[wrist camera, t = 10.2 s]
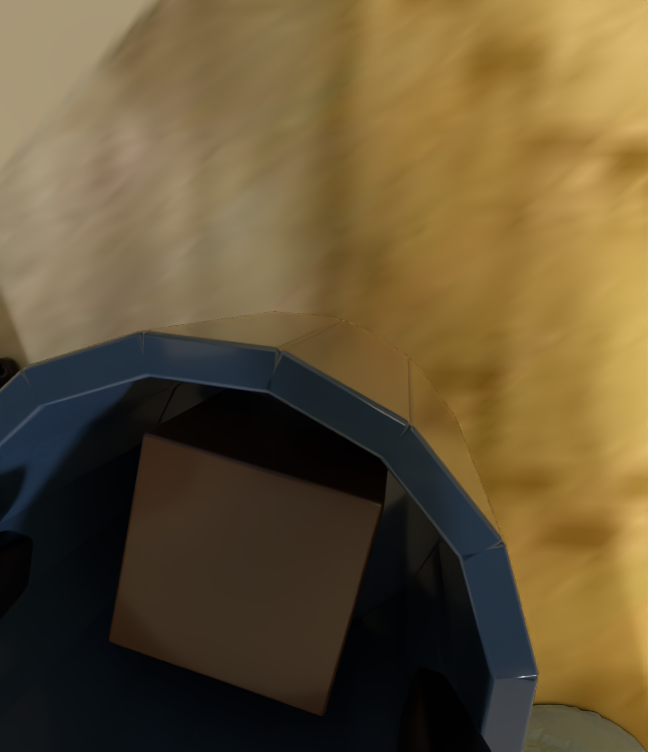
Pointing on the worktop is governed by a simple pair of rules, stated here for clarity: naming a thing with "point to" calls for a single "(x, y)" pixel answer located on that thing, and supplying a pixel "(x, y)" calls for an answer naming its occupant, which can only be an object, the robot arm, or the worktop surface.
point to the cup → (380, 584)
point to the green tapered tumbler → (575, 732)
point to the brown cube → (248, 546)
